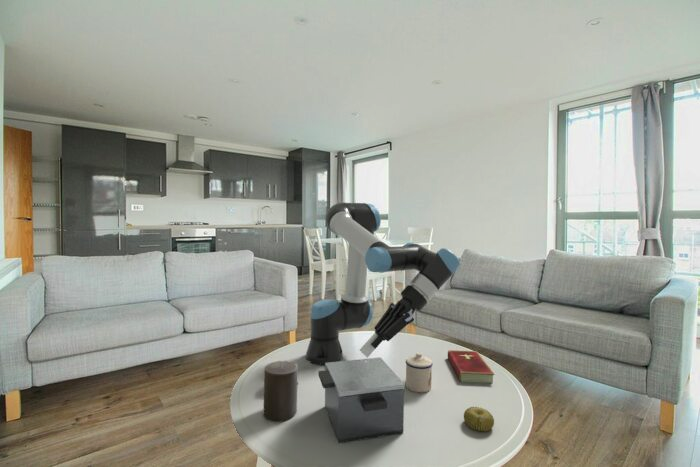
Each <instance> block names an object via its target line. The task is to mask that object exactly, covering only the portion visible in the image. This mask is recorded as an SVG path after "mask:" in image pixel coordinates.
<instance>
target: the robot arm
mask: <svg viewBox="0 0 700 467" xmlns="http://www.w3.org/2000/svg"><path fill="white" fill-rule="evenodd" d="M381 220H382V219H381V214H380V211H379V210H378V208H377V207H376V205H374V204H373V203H372V204H371V203H366V202H338V203H337V202H336V204H333V205H331V207H330V208H328V210H327V212H326V215H325V220H324V221H325V224H326V227H327V228H328V230H329V232H332V233H333V234H334V235H336V236H340V237H341V238H343V240H345V241H346V242H347V243H348V249H347V250H348V251H347V265H346V266H347V267H346V277H345V278H346V279H345V293H344V294H342V295H341V298H340V300H341V301H340V302H339V300H337V299H335V298H334V299H332V298H329V299H320V300H318V301H315V302H314V303H313V304H312V305H311V309H310V340H309V343H308V347H307V350H306V353H305V354H306V355H305V358H306V360H307V362H309V363H310V364H314V365H320V366H321V365H322V366H325V363H329V362H339V361H343V355H344V354H343V348H342V345H341V341H340V339H339V337H340V336H339V335H340V334H339V333H340V331H347V330H353V329H360V328H363V327H366V326H368V325H369V324H370V323H371V322H372V319H373V315H374V309H373V305H372V303H371V301H370V300H369V297H368V296H367V295H366V288H367V278H368V277H367V276H368V270H369V271H370V272H372V273H380V274H381V273H387V272H397V271H398V272H399V271H402V272H403V271H413V270H415V271H417V272H418V273H417V274H415V276H414V277H413V278H412V280H410V282H409V285H406V286H405V288H404V289H403V290H402V291H401V292H400V297H401V299H400V300H398V301H397V302H396V303H395V304H394V303H393V302H391V303H390V304H389V306H388V307H387V309H386V310H385V312H384V313H383V315H382V316H381V318H380V319H379V320H378V322H377V323H376V324H375V326H374V333H373V334H372V335H371V337H370V338H369V339H368V340H367V341H366V342H365V343H364V344H363V345H362V346H361V348H359V351H360V353H361V354H362V355H363V356H365V357H366V359H369V358H370V355H372V354H373V352H375V350H376V349H377V348H378V347H379V345H380V344H381V343H382V342H385V341H386V342H389V341H391V340H392V338H394V337H396V335H398V334H399V333H400V332H401V331H402V330H403V329H405V327H406V326H408V325H409V324H411V323H412V322H414V321H415V318H414V317H413V314H414V313H415V311H418V312H420V311H422V310H423V309H424V307H425V306H426V305H427V304H428V301H430V300H431V299H432V298H433V297H434V296H435V295H436V294H437V292H438V291H440V289H441V288H442V287H443V286H444V284H445V283H446V282H447V281H448V280H449V279H450V278H451V277H452V276H454V274H455V272H456V271H457V270H458V268H459V267H460V265H461V261H460V260H459V258H458V256H457V255H456V254H455V253H453V252H452V251H451V250H450V249H448V248H445V247H444V248H440V249H439V250H437V251H436V252H434V251H432V250H430V249H428V248H426V247H424V246H422V245H421V244H418V243H414V242H411V241H410V242H407V243H405V244H404V245H402V246H389V244H386V243H385V242H384V241H382V240H381V239H379V237H377V236H376V235H375V234H374V233H375V232H376V231H379V228H380V227H381Z"/></svg>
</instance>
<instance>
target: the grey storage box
mask: <svg viewBox="0 0 700 467" xmlns="http://www.w3.org/2000/svg"><path fill="white" fill-rule="evenodd" d="M324 370H326V367H325V368H324ZM404 406H405V388H404V389H397V390H389V391H381V392H373V393H365V394H357V395H349V396H342V397H339V396H338V394H337V391H336V389H335V387H331V388H324V407H325V411H326V413H327V416H328V419H329V421H330V424H331V427H332V430H333V432H334V436H335V438H336V441H337V444H343V443H344V444H346V443H351V442H356V441H362V440H369V439H374V438H375V439H376V438H381V437H387V436H392V435H398V434H399V435H401V434H404V420H405V417H404V416H405V415H404V414H405V412H404V411H405V409H404V408H405V407H404Z"/></svg>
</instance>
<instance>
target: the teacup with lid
mask: <svg viewBox="0 0 700 467" xmlns="http://www.w3.org/2000/svg"><path fill="white" fill-rule="evenodd" d="M432 368H433V361H432V360H431V359H430V358H428V357H426V356H424V355H423V354H422V353H421V352H416V354H415V355H411V356H408V357H407V358H406V359H405V386H406V388H407V389H408V390H410V391H412V392H415V393H427V392H429V391H430V390H432V374H433V373H432V372H433V370H432Z"/></svg>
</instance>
